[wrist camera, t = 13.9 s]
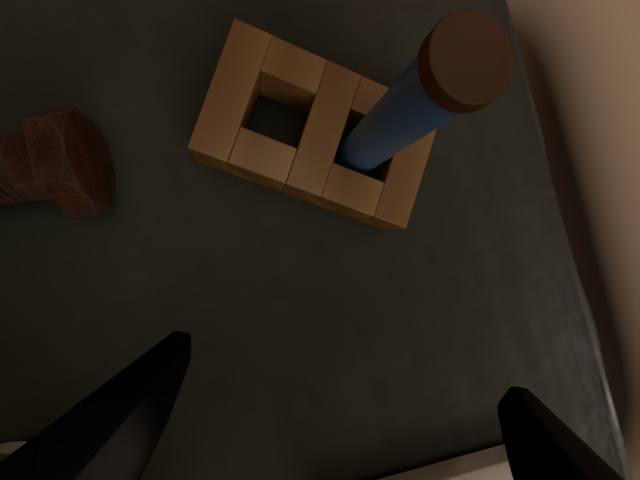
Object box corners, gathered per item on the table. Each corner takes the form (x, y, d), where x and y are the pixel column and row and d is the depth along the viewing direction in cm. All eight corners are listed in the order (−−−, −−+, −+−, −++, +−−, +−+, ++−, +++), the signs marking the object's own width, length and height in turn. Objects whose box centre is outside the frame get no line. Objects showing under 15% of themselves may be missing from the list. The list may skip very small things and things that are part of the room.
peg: (377, 175, 23) (524, 93, 11) (338, 186, 23) (444, 114, 10) (365, 133, 23) (500, 1, 11) (325, 143, 23) (417, 16, 10)
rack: (418, 128, 24) (442, 111, 21) (386, 230, 24) (406, 228, 20) (237, 50, 22) (234, 17, 19) (196, 161, 21) (186, 147, 18)
